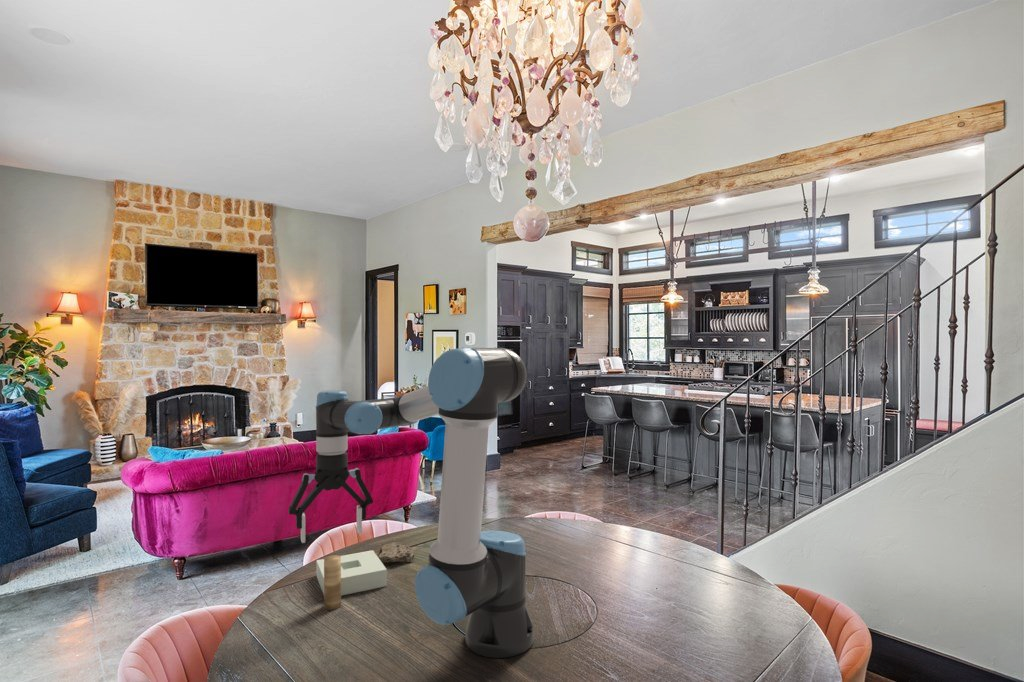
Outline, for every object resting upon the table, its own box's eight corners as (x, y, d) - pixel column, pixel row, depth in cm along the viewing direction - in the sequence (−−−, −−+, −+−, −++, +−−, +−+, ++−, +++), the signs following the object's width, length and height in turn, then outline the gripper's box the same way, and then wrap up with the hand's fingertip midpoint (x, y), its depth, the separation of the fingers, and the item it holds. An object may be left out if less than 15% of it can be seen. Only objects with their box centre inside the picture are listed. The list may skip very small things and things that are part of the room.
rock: (410, 567, 161) (410, 553, 161) (373, 567, 161) (373, 552, 162) (418, 554, 171) (418, 540, 171) (383, 553, 172) (383, 540, 172)
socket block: (386, 585, 148) (386, 569, 148) (325, 598, 141) (325, 581, 141) (372, 565, 162) (372, 550, 162) (316, 576, 155) (316, 560, 155)
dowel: (342, 607, 136) (342, 559, 136) (325, 611, 134) (325, 562, 134) (339, 601, 139) (339, 554, 140) (323, 604, 138) (322, 556, 138)
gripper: (377, 445, 146) (377, 524, 146) (277, 454, 135) (276, 539, 135) (385, 450, 140) (384, 533, 140) (279, 459, 128) (279, 550, 128)
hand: (331, 536), depth 137 cm, fingers open, 13 cm apart
